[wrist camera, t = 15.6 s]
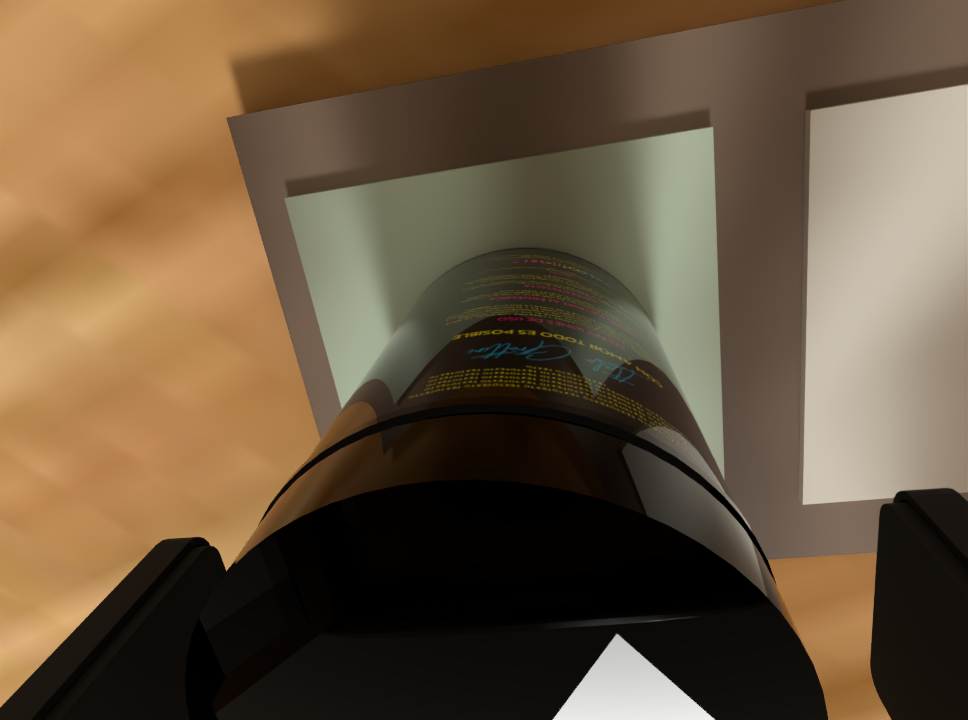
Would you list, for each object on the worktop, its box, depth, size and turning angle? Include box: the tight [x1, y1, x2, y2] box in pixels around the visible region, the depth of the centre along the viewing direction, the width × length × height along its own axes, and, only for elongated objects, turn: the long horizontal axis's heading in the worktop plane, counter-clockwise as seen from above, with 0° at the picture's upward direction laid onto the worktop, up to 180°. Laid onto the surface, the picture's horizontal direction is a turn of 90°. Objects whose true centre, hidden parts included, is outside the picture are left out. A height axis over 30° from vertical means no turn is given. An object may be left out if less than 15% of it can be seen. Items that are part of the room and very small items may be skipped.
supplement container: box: [185, 247, 828, 720], centre depth 11 cm, size 7×7×10 cm
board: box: [227, 0, 968, 559], centre depth 16 cm, size 24×14×1 cm, turn 100°
